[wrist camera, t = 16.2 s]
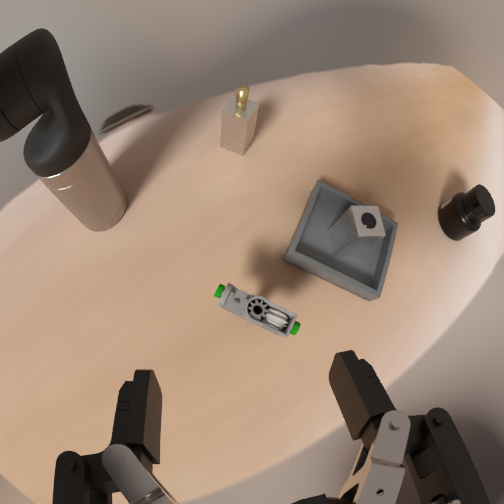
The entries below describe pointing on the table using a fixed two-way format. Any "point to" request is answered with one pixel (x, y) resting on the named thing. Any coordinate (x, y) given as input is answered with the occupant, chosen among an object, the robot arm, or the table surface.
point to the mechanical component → (257, 310)
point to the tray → (319, 251)
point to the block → (356, 231)
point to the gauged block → (239, 122)
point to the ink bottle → (466, 212)
